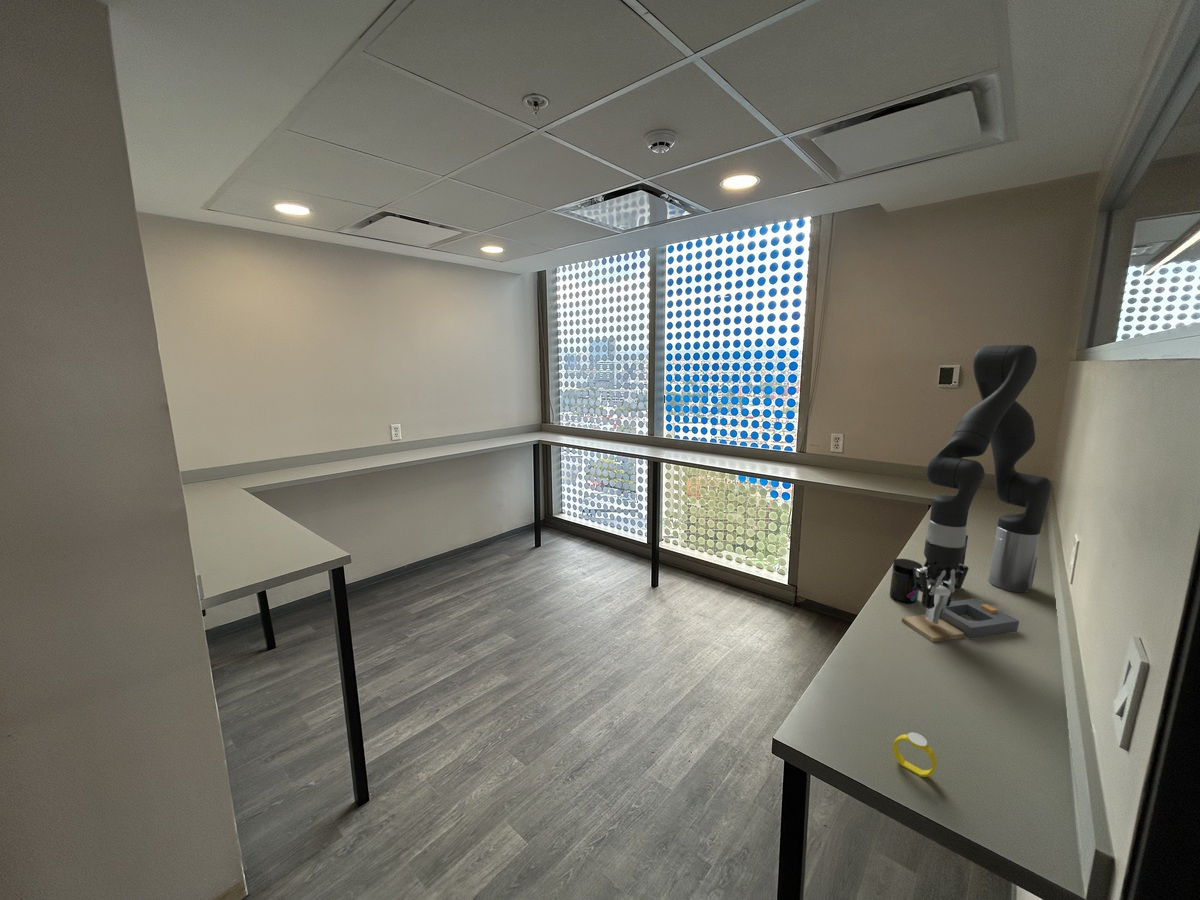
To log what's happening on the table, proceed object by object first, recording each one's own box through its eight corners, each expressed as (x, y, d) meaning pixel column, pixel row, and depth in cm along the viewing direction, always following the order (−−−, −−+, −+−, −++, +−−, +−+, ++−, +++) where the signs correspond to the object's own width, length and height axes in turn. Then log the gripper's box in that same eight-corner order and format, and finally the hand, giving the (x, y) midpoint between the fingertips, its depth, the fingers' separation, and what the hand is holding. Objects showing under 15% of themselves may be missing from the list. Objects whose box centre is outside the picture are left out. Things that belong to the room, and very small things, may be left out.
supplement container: (902, 606, 129) (907, 570, 127) (883, 594, 135) (887, 559, 133) (923, 603, 130) (928, 567, 128) (903, 591, 137) (907, 557, 135)
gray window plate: (974, 608, 127) (976, 595, 127) (1017, 631, 117) (1019, 617, 116) (929, 614, 125) (931, 601, 124) (969, 639, 114) (972, 624, 113)
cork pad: (931, 617, 123) (931, 613, 123) (964, 637, 115) (964, 633, 115) (901, 621, 122) (902, 617, 121) (932, 642, 113) (933, 638, 113)
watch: (934, 777, 78) (943, 747, 76) (929, 786, 76) (937, 756, 75) (894, 751, 82) (901, 723, 81) (888, 760, 81) (895, 731, 79)
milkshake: (946, 618, 118) (953, 581, 116) (943, 627, 114) (950, 589, 112) (924, 612, 121) (931, 575, 119) (921, 620, 117) (927, 582, 115)
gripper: (955, 531, 119) (946, 595, 122) (906, 536, 116) (898, 601, 119) (985, 543, 111) (974, 610, 115) (933, 549, 109) (923, 617, 112)
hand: (935, 605), depth 117 cm, fingers closed on milkshake, 4 cm apart
